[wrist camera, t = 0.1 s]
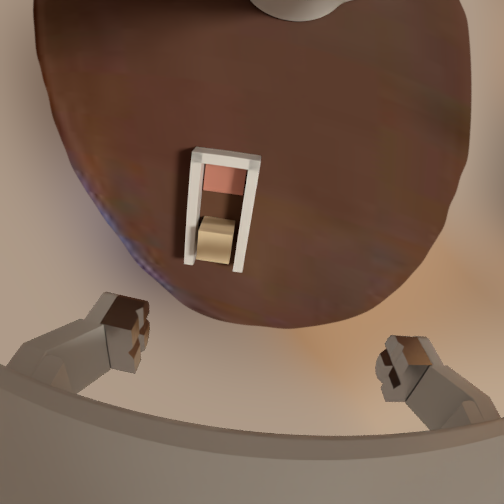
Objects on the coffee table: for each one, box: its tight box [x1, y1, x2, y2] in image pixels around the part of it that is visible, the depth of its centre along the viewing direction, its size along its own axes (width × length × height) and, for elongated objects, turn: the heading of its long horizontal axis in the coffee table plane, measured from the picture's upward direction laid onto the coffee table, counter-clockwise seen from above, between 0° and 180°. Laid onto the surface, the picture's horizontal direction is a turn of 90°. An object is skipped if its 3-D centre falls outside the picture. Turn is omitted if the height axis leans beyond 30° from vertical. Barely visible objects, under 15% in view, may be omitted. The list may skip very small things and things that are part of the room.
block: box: [196, 216, 235, 264], centre depth 50 cm, size 5×5×5 cm
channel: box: [184, 147, 261, 273], centre depth 49 cm, size 18×10×3 cm, turn 171°
